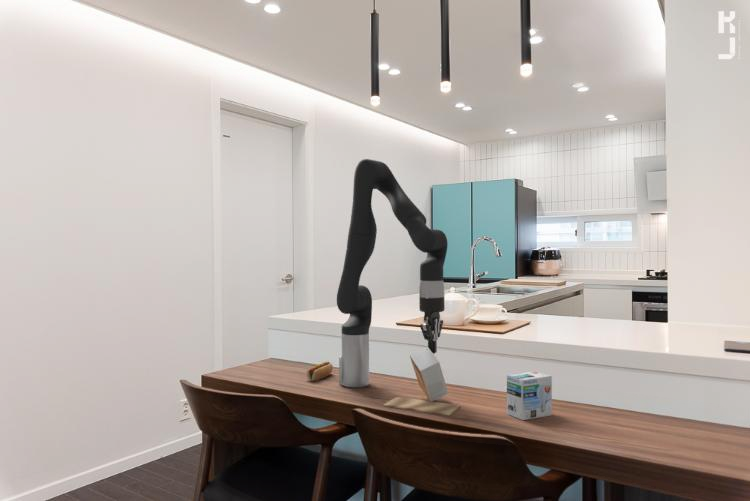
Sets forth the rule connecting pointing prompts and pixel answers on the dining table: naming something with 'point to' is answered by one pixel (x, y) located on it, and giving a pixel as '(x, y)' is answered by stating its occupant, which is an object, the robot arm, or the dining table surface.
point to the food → (319, 371)
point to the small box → (429, 374)
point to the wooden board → (422, 406)
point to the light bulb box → (529, 395)
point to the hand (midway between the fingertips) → (432, 353)
